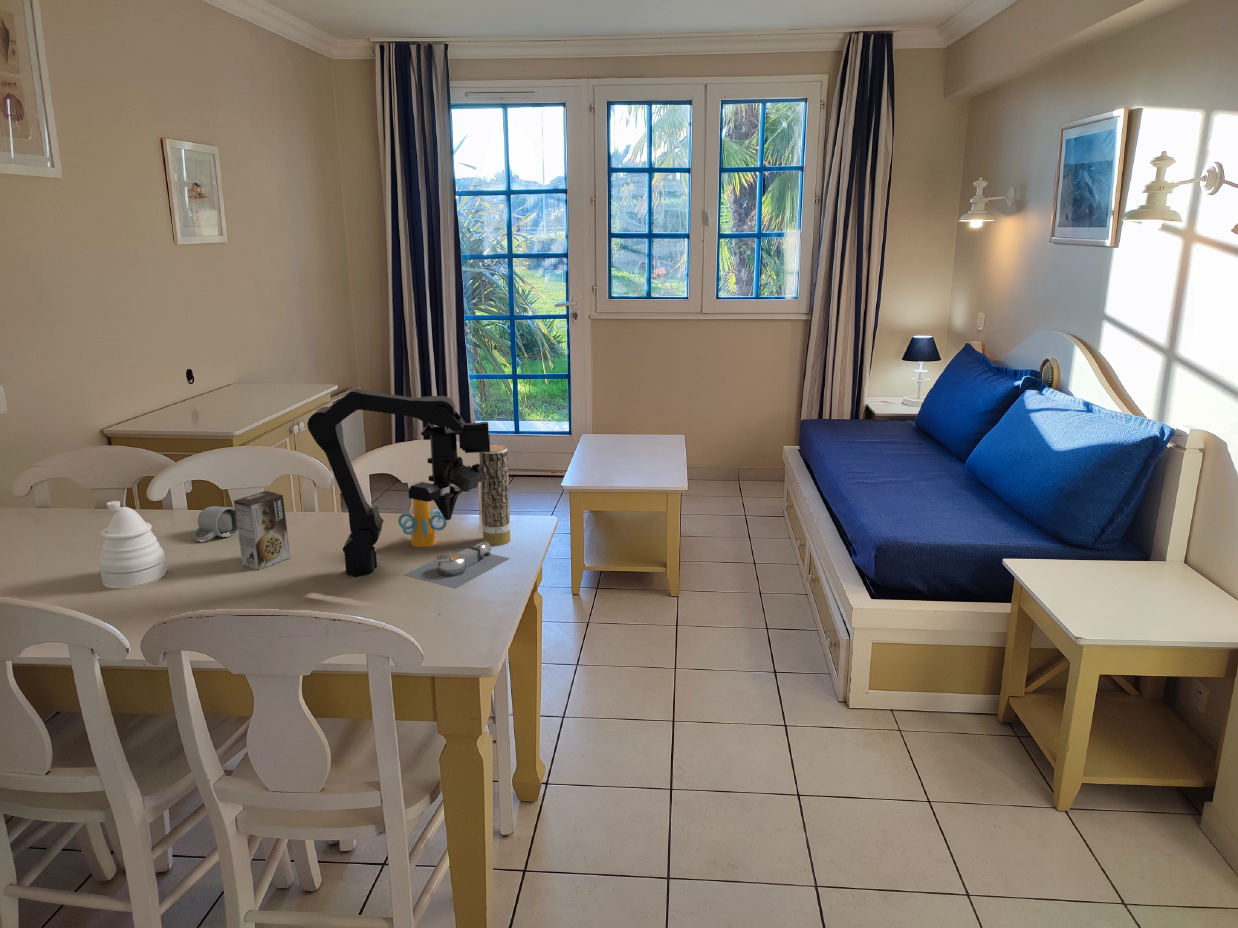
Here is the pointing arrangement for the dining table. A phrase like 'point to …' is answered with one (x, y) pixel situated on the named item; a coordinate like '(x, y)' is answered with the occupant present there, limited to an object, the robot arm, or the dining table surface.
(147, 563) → the honey pot
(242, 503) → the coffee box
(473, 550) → the dial knob with block
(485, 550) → the duct stub
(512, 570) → the dining table surface
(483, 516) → the bark covered log
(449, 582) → the mat
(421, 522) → the cylinder
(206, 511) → the ceramic mug
